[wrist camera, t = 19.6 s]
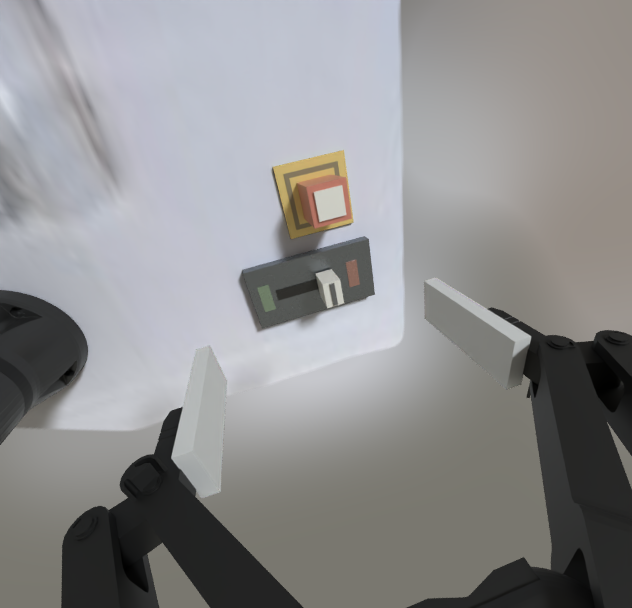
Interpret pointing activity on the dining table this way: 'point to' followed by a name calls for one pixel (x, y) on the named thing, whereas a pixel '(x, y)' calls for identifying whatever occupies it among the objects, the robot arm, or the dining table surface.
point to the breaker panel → (308, 280)
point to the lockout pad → (304, 171)
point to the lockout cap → (325, 200)
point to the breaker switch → (330, 288)
